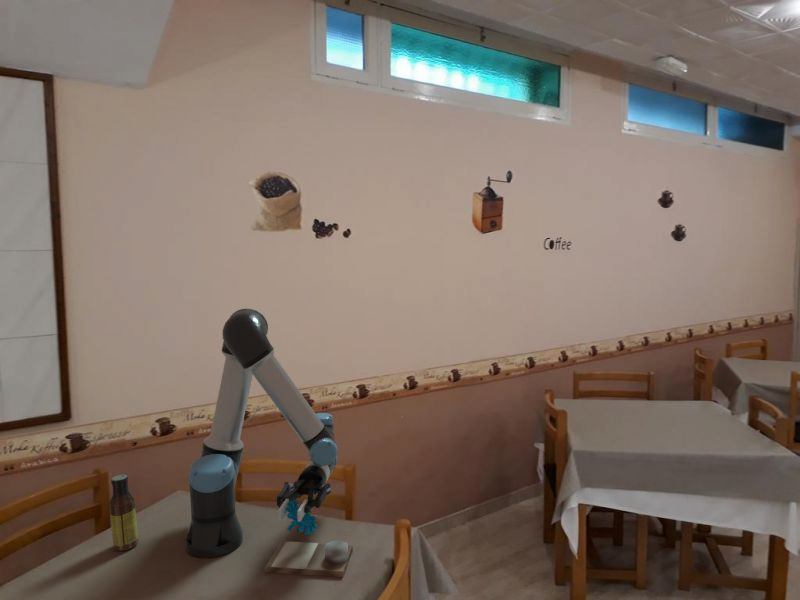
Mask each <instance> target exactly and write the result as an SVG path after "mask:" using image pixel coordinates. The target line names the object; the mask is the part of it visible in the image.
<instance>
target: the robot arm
mask: <svg viewBox="0 0 800 600" xmlns="http://www.w3.org/2000/svg"><path fill="white" fill-rule="evenodd" d="M268 331H269V325H268V321H267V319H266V317H265V316H264V315H263V314H262V313H261V312H259V310H257V309H253V308H241V309H238V310H235V311H234V312H233V313H232V314H231V315H230V317H229V318H228V319H227V320H226V321H225V323H224V325H223V328H222V339H223V342H222V348H221V353H222V354H223V356H224V357H225V361H224V365H223V371H222V373H221V374H222V375H221V379H220V384H219V391H218V396H217V399H216V404H215V405H216V406H215V410H214V415H213V419H212V425H211V430H210V434H209V435H208V436H207V437H206V438H204V439H203V444H202V447H201V448H202V449H201V453H200V458H198V459H196V460H195V461H194V462H192V464H191V465H190V468H189V474H188V481H189V494H190V495H189V496H190V513H191V516H190V517H191V518H190V519H191V520H190V524H189V526H188V530H187V533H186V537H185V550H186V552H187V554H189V556H190V555H191V556H192V557H196V558H205V559H207V558H215V557H221V556H223V555H226V554H229V553H231V552H233V551H235V550H236V549H238V548H239V547H240V546H241V544H242V543H243V541H244V535H243V534H244V531H243V529H242V528H243V527H242V525H241V523H240V521H239V518H238V515H237V514H236V513H237V512H236V493H235V492H236V483H237V478H238V474H239V471H240V468H241V466H242V465H241V464H242V458H243V457H242V455H243V451H244V445H245V443H244V442H243V441H242V440H241V436H242V430H243V425H244V420H245V416H246V414H245V413H246V409H247V405H248V401H249V400H248V399H249V394H250V389H251V386H252V385H251V384H252V380H253V377H255V379H256V381H257V382H258V383H259V385H260V387H262V389H263V391H265V394H267V396H268V397H269V398H270V400H271V401H272V402H273V404H274V405H275V406H276V408H277V409H278V411H279V412H280V413H281V415H282V416H283V417H284V419H285V420H286V421H287V423H288V424H289V426H290V427H291V428H292V429H293V431H294V432H295V434H296V435H297V437H298V438H299V439H300V440H301V442H302V444H303V445H304V446H305V448H306V449H307V451H308V452H309V462H308V463H307V465H305V467H304V468H303V470H302V472H301V473H300V474H299V476H298V479H297V480H295V481H294V483H290V482H289V481H285V482H284V483H283V485H284V486H283V487H282V488H281V490H280V491H279V493H278V494H277V495H276V505H277V507H278V508H277V520H278V522H279V521H280V522H282V521H283V519H284V517H285V515H287V514H288V513H287V512H288V511H286V507H287V506H288V503H289V502H290V501H292V502H293V501H294V500H296V501H297V499H300V498H301V497H303V496H304V495H306V496H307V499H304V500H303V501H302V502H301V503H302V504H301V503H300V504H301V506H300V508H299V509H298V511H297V518H298V522H301V520H302V518H303V517H304V515H305V513H308V512H310V510H312V509H313V508H314V507H315V508H316V509H320V508H321V506H322V504H323V503H324V501H325V499H326V497H328V496H329V495H330V494H331V491H332V490H331V487H332V486H331V483H328V482H327V481H328V479H329V478H330V476H331V474H332V472H334V470H335V468H336V466H337V463H338V445H337V443H336V442H337V441H336V436H335V432H334V428H335V427H334V426H335V425H334V419H333V417H334V416H333V415H332V414H330V413H328V412H327V413H326V412H318V413H315V410H314V409H313V408H312V406H311V405H310V404H309V402H308V401H307V399H306V398H305V397H304V395H303V394H302V393H301V391H300V390H299V388H298V387H297V385H296V384H295V382H294V381H293V380H292V378H291V376H289V374H288V373H287V372H286V369H284V367H283V366H282V365H281V363H280V361H279V359H277V357H276V356H275V354H274V353H275V348H274V346H273V345H272V344H271V342H270V340H269V338H268V336H267V334H268ZM315 495H316V496H315Z"/></svg>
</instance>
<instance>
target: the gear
mask: <svg viewBox="0 0 800 600" xmlns="http://www.w3.org/2000/svg"><path fill="white" fill-rule="evenodd" d="M302 503H303V502H301V503H300V504H299V501H298V500H297V499H296V500H294V501H293V502H292V501H290V502H289V503H288V506H287V507H286V511H287V512H288V513H286V517H287V519H289V520H290V519H291V520H292V521H290V523H291V524H290V525H289V526H288V527H287V531H288V532H291V531H292V530H293V529H294V528H295V527H296V526H299V527H298V528H297V530H298V532H299V533H303V531H304V534H305V535H307V536H309V535H310V534H314V533H315V532H316V528H317V527H318V524H317V523H316V522H315V521H316V517H315V516H314V515H311V513H312V511H311V510H312V509H311V510H310V512H308V513H305V515H304V517H303V518H302V520H301V522H298V518H297V511H298V509H299V508H300V506H301V504H302ZM298 505H299V506H298Z"/></svg>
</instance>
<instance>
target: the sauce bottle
mask: <svg viewBox="0 0 800 600" xmlns="http://www.w3.org/2000/svg"><path fill="white" fill-rule="evenodd" d="M110 481H111V485H112V496H111V498H110V500H109V511H110V512H109V515H110V526H111V536H112V537H111V538H112V544H113V547H114V549H115V550H116V551H118V552H119V551H120V552H121V551H129V550H131V549H133V548H135V547H136V546H137V545H138V544H139V531H138V523H137V522H138V521H137V514H136V513H137V512H136V505H135V499H134V497H133V495H132V494H131V493H130V491H129V485H128V484H129V483H128V481H129V478H128V475H127V474H117V475H115V476H113V477H111V479H110Z"/></svg>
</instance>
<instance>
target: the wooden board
mask: <svg viewBox="0 0 800 600" xmlns="http://www.w3.org/2000/svg"><path fill="white" fill-rule="evenodd" d="M353 548H354V547H353V545H349V543H347V542H346V541H344V540H339V539H338V540H337V539H335V540H332V541H331V540H330V541H329V542H327V543H318V542H301V541H280V542H279V543H278V546H276V549H275V550H274V552H273V553H272V555H271V557H270V559H269V560H268V562H267V563H266V565H265V566H264V567H265V573H272V574H286V575H287V574H288V575H301V576H302V575H305V576H320V577H335V578H344V576H345V573H346V570H347V567H348V565H349V562H350V559H351V556H352V555H353V551H354V550H353Z"/></svg>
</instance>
